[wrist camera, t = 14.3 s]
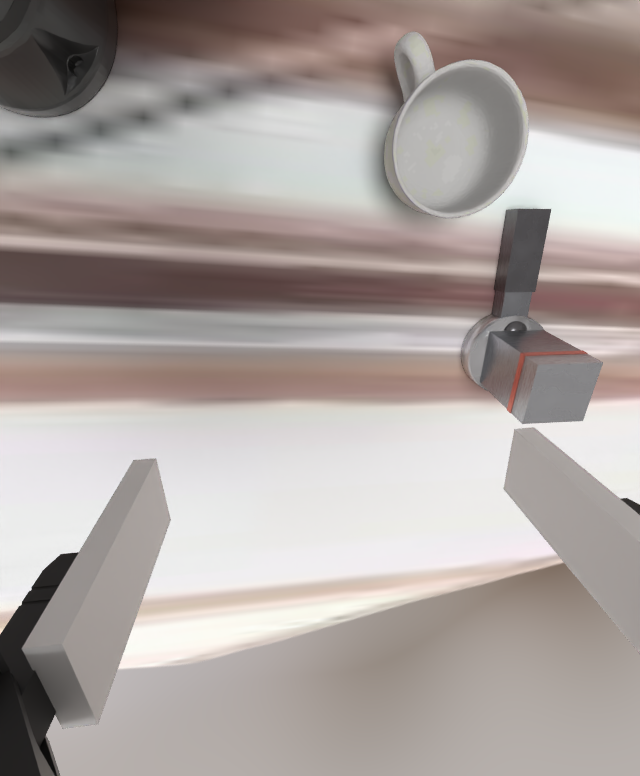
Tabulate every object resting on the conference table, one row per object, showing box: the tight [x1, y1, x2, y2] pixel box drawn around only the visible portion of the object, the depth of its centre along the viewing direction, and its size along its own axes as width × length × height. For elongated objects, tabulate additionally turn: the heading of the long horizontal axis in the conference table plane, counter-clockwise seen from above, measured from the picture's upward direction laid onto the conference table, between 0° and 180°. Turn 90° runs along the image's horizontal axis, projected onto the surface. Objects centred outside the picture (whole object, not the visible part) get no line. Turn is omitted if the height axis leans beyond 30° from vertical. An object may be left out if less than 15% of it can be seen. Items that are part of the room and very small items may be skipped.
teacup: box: [384, 32, 529, 218], centre depth 34 cm, size 14×11×8 cm
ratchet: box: [461, 209, 551, 391], centre depth 41 cm, size 20×9×8 cm, turn 0°
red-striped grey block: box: [480, 330, 603, 424], centre depth 40 cm, size 6×6×9 cm
